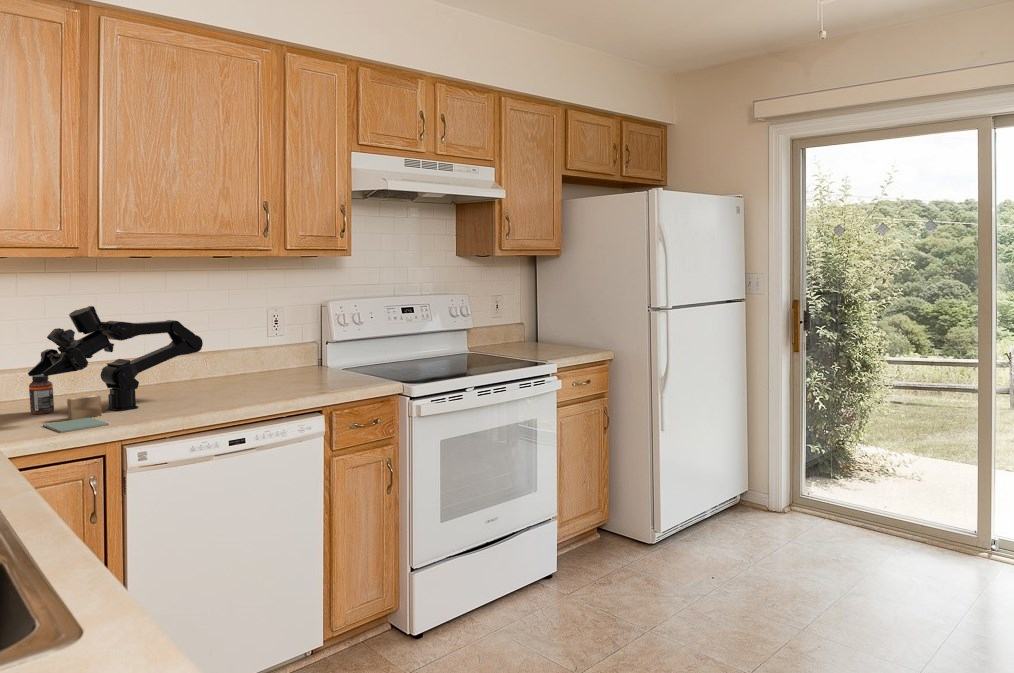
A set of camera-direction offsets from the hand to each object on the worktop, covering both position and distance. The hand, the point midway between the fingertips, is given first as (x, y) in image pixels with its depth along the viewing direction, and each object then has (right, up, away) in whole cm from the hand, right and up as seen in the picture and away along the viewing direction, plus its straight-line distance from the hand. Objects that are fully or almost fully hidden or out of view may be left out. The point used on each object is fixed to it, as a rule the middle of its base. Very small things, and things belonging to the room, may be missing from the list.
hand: (36, 374), depth 202 cm
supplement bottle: (-8, -12, +15) cm, 21 cm away
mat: (+12, -14, -2) cm, 19 cm away
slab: (+9, -13, +8) cm, 18 cm away
